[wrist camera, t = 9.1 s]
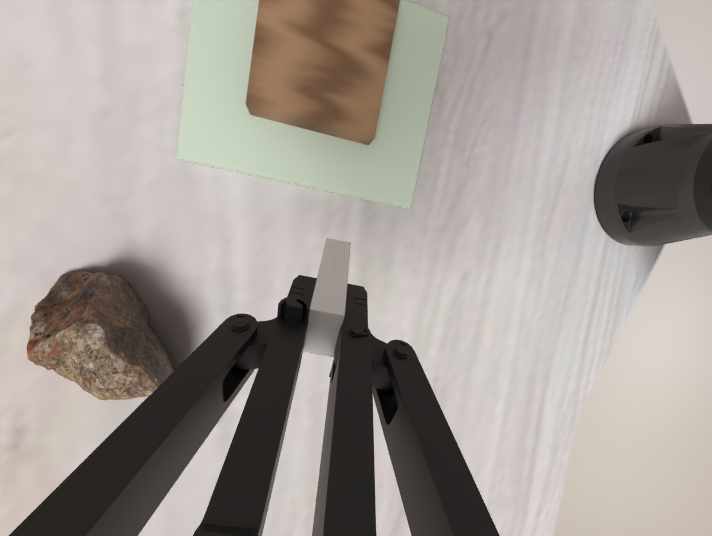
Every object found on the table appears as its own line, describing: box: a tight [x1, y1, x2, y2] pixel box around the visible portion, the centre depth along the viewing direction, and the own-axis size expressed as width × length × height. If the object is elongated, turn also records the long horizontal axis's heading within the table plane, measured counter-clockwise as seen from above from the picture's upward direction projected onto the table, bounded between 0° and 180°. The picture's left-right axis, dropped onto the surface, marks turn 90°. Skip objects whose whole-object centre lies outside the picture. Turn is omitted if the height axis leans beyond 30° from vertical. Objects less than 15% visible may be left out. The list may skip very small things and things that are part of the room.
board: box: [246, 0, 400, 145], centre depth 26 cm, size 12×2×14 cm
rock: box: [27, 271, 175, 400], centre depth 25 cm, size 14×9×10 cm
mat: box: [176, 0, 449, 209], centre depth 28 cm, size 24×20×1 cm
